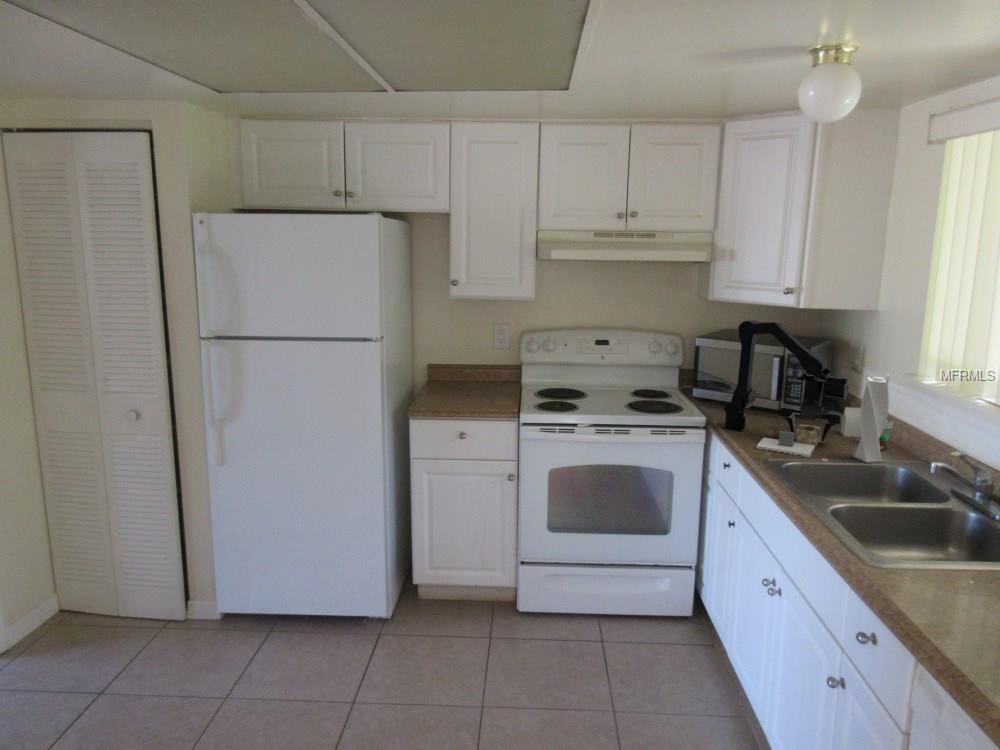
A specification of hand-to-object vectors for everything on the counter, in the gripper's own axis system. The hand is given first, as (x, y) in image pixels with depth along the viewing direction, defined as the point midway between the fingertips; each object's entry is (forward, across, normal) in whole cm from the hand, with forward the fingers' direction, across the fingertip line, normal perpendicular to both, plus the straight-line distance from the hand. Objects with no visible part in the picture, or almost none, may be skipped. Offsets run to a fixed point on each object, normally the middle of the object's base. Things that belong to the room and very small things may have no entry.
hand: (807, 438), depth 225 cm
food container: (+2, +21, +8) cm, 23 cm away
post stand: (+1, -5, -12) cm, 13 cm away
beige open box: (+1, 0, 0) cm, 1 cm away
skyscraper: (+2, +19, -10) cm, 22 cm away
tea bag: (+2, +12, +20) cm, 23 cm away
